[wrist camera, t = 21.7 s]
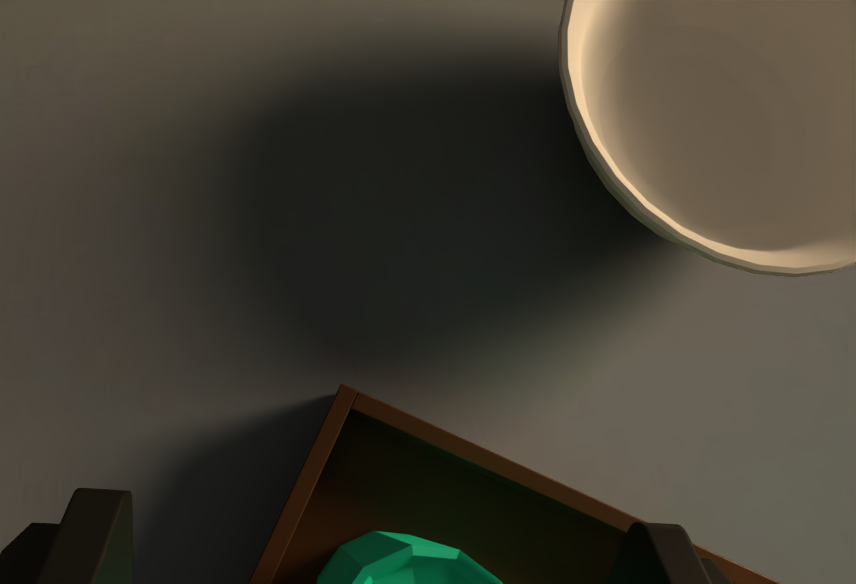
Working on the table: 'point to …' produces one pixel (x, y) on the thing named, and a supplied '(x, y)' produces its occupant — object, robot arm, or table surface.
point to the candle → (401, 562)
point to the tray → (442, 504)
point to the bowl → (722, 123)
